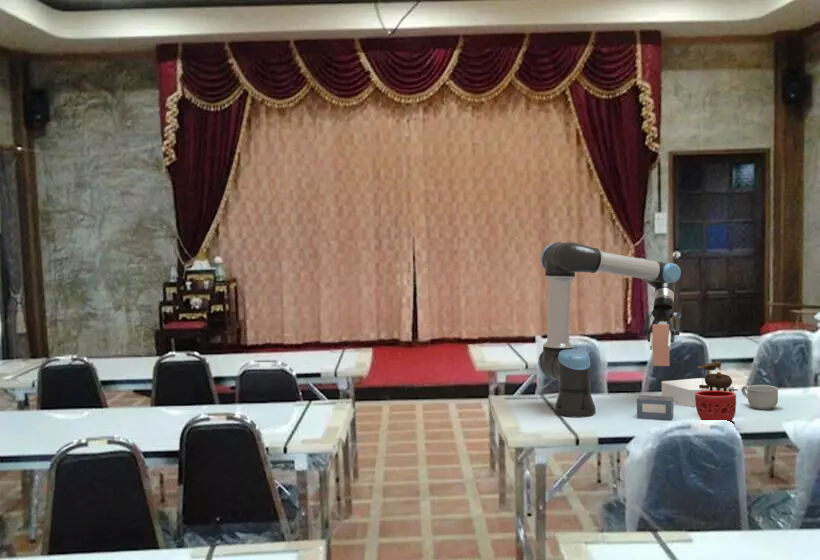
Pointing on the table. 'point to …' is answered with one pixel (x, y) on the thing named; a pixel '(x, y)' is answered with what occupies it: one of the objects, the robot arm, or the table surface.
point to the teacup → (761, 396)
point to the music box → (716, 378)
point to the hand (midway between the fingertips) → (660, 347)
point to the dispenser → (655, 407)
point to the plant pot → (719, 411)
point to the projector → (685, 390)
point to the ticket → (660, 345)
